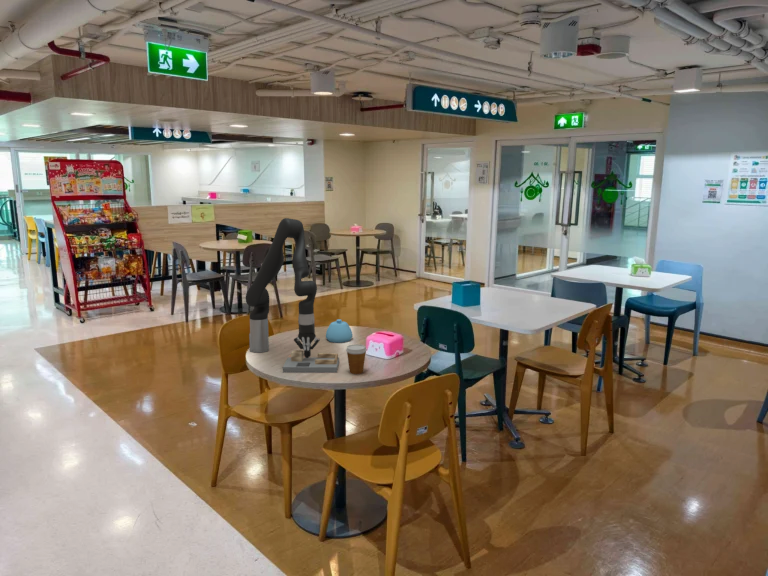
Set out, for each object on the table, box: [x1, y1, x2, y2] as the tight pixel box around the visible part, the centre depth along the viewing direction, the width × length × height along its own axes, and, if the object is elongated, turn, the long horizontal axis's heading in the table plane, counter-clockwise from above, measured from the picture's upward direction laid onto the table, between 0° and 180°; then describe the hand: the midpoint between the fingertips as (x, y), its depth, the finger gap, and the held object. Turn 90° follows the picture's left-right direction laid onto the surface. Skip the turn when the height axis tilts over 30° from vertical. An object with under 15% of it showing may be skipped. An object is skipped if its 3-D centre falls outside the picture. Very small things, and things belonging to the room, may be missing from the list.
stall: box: [315, 353, 339, 364], centre depth 269 cm, size 10×10×2 cm
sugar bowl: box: [325, 318, 353, 344], centre depth 314 cm, size 15×15×12 cm
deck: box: [282, 356, 340, 374], centre depth 267 cm, size 25×15×2 cm, turn 90°
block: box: [290, 349, 304, 362], centre depth 270 cm, size 5×5×4 cm
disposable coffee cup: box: [345, 344, 368, 375], centre depth 260 cm, size 10×10×12 cm
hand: (307, 357), depth 270 cm, fingers closed
